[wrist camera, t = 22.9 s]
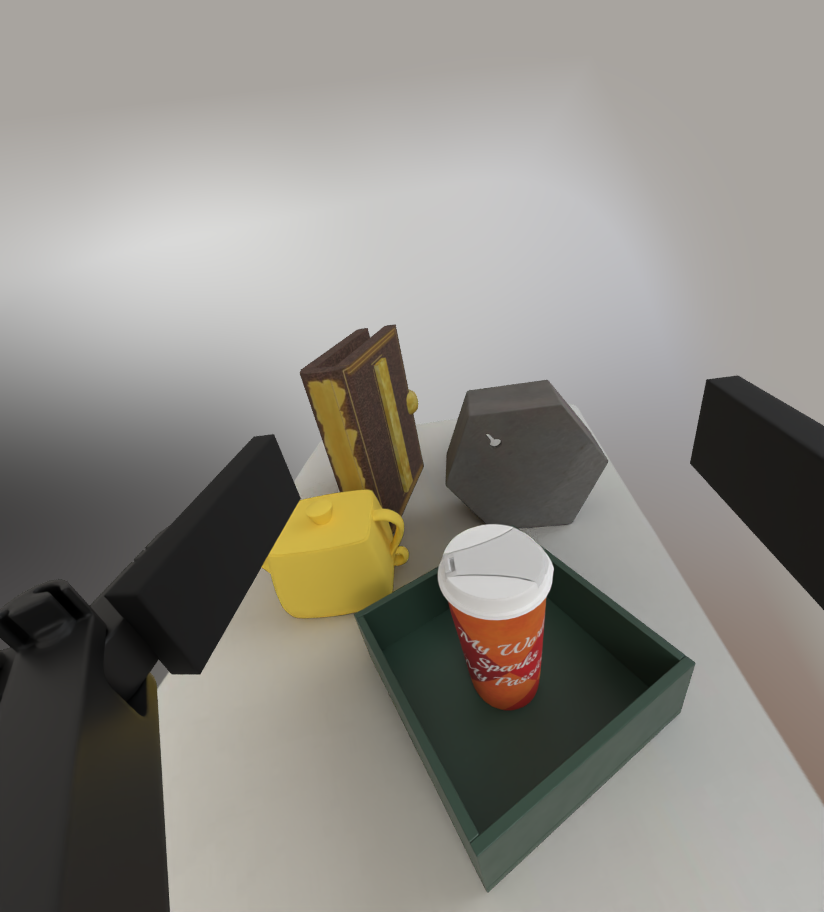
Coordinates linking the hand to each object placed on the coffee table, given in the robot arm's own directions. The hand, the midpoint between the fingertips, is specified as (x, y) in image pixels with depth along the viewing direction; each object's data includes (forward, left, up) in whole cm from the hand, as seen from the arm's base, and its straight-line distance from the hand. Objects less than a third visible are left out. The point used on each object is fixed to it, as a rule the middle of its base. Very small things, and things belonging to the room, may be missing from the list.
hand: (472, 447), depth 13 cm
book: (+42, -11, -31) cm, 53 cm away
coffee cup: (+8, -6, -30) cm, 32 cm away
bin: (+8, -6, -31) cm, 32 cm away
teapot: (+30, +3, -31) cm, 43 cm away
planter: (+25, -23, -31) cm, 46 cm away
